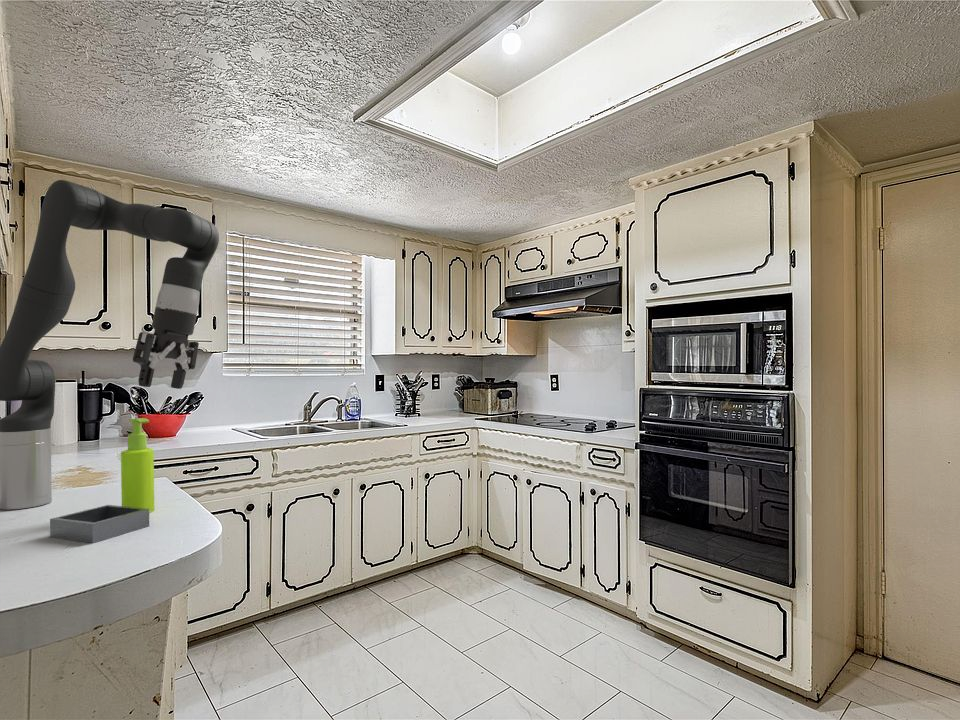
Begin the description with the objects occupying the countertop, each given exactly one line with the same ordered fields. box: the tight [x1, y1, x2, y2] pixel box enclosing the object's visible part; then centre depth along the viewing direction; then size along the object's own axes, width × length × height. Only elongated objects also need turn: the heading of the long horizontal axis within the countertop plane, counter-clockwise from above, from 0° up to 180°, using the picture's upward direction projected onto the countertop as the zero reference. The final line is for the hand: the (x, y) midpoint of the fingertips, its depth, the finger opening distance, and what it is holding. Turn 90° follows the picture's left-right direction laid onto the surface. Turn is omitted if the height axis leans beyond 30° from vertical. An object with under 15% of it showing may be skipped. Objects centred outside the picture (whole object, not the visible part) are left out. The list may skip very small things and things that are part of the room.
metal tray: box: [49, 504, 150, 544], centre depth 102 cm, size 12×11×3 cm
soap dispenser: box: [120, 417, 155, 514], centre depth 115 cm, size 6×7×20 cm
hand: (160, 387), depth 110 cm, fingers open, 8 cm apart
